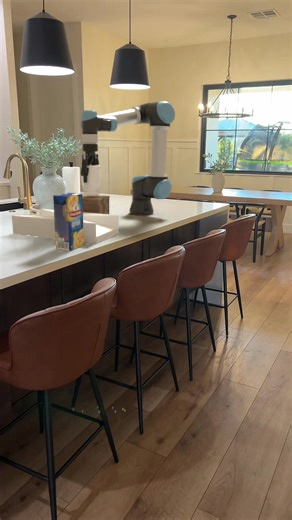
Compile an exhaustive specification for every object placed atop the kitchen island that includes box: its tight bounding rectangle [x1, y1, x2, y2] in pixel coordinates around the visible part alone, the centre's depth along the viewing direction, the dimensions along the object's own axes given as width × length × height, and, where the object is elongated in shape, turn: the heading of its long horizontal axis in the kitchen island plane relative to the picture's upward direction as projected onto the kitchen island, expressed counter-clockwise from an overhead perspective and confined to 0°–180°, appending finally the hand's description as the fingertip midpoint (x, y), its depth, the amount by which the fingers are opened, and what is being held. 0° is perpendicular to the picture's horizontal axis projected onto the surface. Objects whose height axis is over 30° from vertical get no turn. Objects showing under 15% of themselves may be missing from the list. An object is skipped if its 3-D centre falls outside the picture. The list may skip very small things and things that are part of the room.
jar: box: [80, 164, 102, 196], centre depth 209 cm, size 11×10×15 cm
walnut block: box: [82, 194, 111, 215], centre depth 213 cm, size 14×14×15 cm
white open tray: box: [11, 208, 120, 245], centre depth 195 cm, size 45×22×10 cm, turn 68°
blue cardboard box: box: [52, 192, 85, 252], centre depth 169 cm, size 7×11×22 cm, turn 157°
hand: (91, 188), depth 210 cm, fingers closed on jar, 10 cm apart
